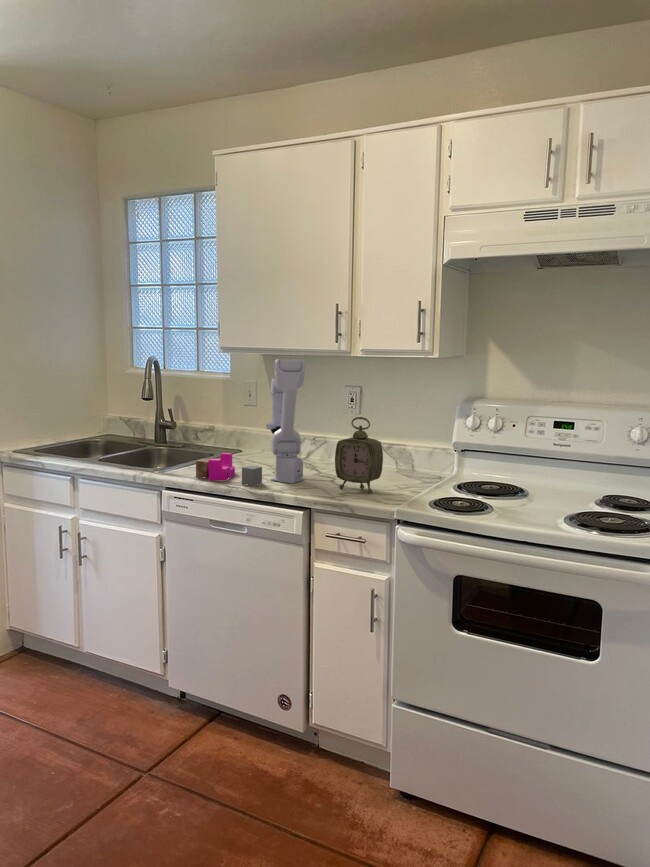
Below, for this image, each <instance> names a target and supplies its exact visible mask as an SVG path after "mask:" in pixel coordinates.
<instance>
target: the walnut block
mask: <svg viewBox="0 0 650 867" xmlns="http://www.w3.org/2000/svg"><path fill="white" fill-rule="evenodd" d="M210 459H211V458H209V459H208V458H202V459H196V460H195V477H196V476H198V477H197V478H201V477H205V478H204V479H208V478H207V477H209V460H210Z"/></svg>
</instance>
